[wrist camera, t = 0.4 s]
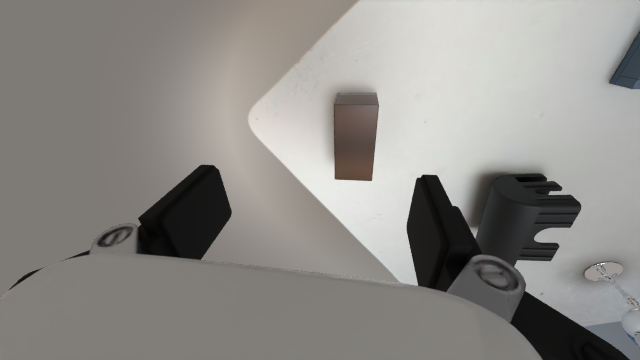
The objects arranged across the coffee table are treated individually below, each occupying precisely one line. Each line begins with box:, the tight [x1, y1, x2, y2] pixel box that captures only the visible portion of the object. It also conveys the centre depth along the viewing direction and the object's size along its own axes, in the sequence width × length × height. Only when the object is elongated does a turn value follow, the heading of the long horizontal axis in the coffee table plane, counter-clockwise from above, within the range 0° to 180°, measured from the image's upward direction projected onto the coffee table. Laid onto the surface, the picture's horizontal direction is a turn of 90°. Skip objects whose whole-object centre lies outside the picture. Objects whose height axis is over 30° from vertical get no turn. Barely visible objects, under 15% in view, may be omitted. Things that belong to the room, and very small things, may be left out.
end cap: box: [475, 174, 581, 267], centre depth 29 cm, size 10×7×7 cm
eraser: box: [334, 93, 379, 181], centre depth 28 cm, size 9×4×4 cm, turn 3°
